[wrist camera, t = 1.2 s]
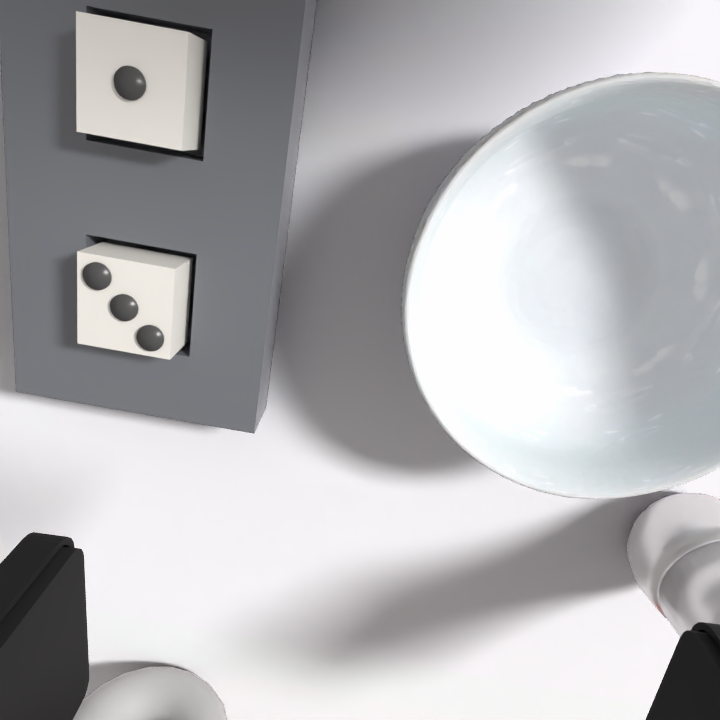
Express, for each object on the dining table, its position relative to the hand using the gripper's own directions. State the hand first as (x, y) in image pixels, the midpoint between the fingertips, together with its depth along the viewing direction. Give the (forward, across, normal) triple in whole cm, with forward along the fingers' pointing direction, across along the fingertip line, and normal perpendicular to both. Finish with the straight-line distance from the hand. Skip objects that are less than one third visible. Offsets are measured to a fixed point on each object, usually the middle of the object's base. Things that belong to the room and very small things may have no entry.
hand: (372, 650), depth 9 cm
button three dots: (+20, +11, +1) cm, 23 cm away
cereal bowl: (+22, -9, -2) cm, 24 cm away
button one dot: (+20, +11, -8) cm, 24 cm away
